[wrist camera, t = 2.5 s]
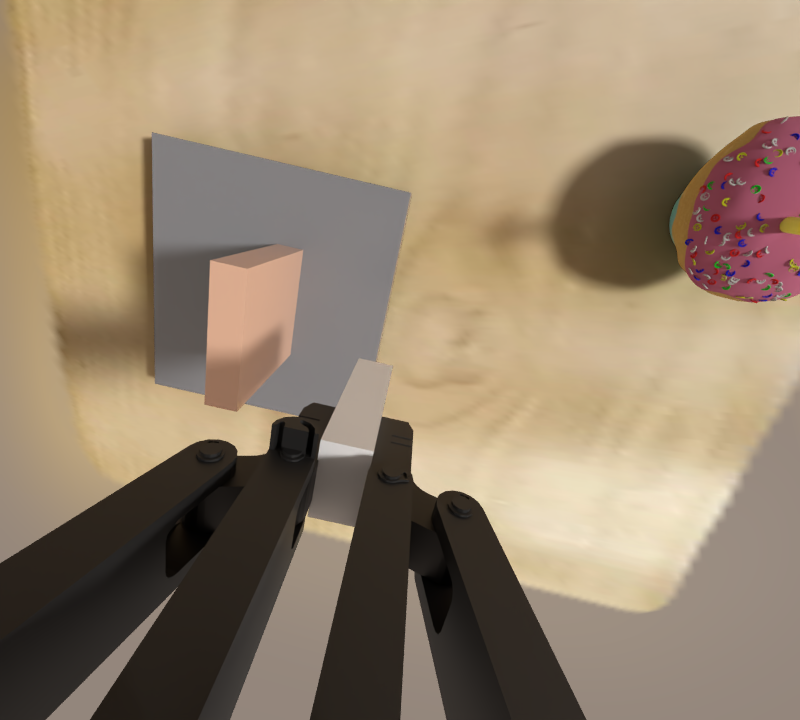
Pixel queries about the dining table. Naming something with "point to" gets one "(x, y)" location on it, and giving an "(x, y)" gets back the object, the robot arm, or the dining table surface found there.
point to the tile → (249, 321)
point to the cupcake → (744, 217)
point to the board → (260, 227)
